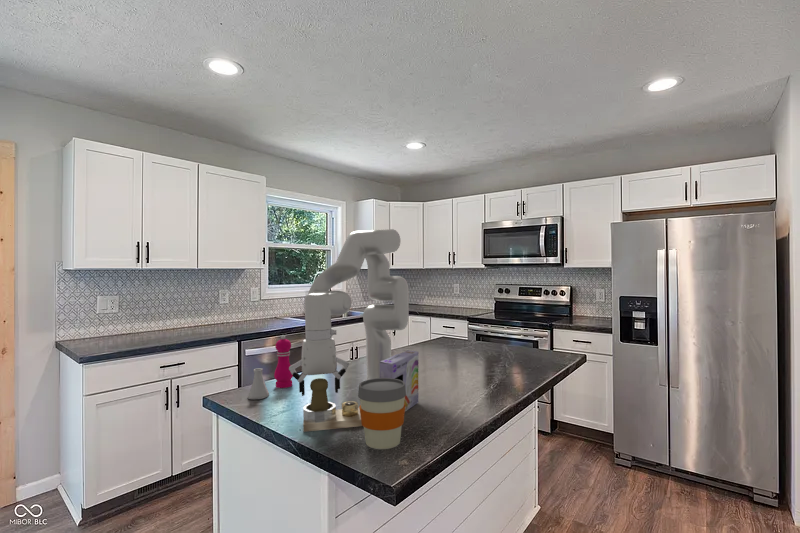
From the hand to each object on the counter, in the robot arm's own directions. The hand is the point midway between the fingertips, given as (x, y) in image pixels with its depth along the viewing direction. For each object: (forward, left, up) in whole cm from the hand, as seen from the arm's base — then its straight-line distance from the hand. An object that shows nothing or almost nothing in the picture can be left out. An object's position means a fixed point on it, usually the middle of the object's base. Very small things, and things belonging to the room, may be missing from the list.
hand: (319, 393), depth 119 cm
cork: (0, 0, -7) cm, 7 cm away
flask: (+21, -32, -9) cm, 39 cm away
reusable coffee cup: (-16, +17, -9) cm, 25 cm away
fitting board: (-4, 0, -9) cm, 10 cm away
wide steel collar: (0, 0, -7) cm, 7 cm away
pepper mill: (+13, -44, -9) cm, 47 cm away
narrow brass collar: (-9, 0, -7) cm, 11 cm away
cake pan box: (-25, -4, -9) cm, 27 cm away
